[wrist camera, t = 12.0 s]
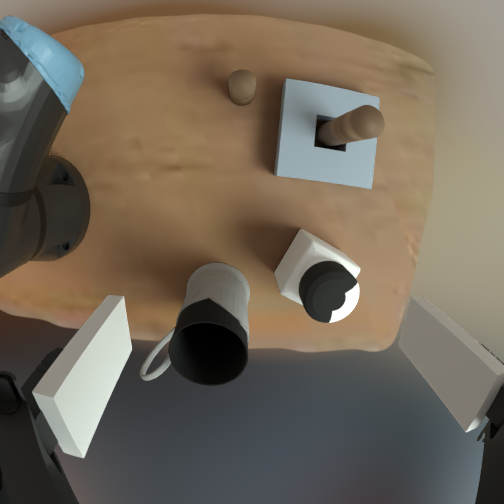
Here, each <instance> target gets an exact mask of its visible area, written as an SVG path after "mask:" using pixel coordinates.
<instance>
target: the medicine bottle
mask: <svg viewBox="0 0 504 504" xmlns="http://www.w3.org/2000/svg"><path fill="white" fill-rule="evenodd" d="M359 272H360V267H359V266H358V265H356V264H355V263H354V262H353V261H352V260H351V259H350V258H349V257H347V256H346V255H345V254H344V253H343V252H341V251H340V250H338V249H336V248H335V247H333V246H331V245H330V244H328V243H326V242H324V241H323V240H321V239H319V238H318V237H316V236H314V235H312V234H311V233H309V232H307V231H305V230H304V229H300V230H299V232H298V233H297V235H296V237H295V238H294V240H293V242H292V244H291V245H290V247H289V249H288V250H287V252H286V254H285V255H284V257H283V259H282V260H281V262H280V264H279V265H278V267H277V269H276V270H275V272H274V274H275V278H276V281H277V284H278V287H279V290H280V294H281V295H283V296H285V297H287V298H289V299H291V300H293V301H295V302H297V303H299V304H301V305H303V306H304V308H305V310H306V312H307V313H308V315H309V316H310V317H311V318H313V319H314V320H316V321H319V322H324V323H330V322H336V321H338V320H341V319H343V318H344V317H346V316H347V315H348V314H350V312H351V311H352V310H353V309H354V308H355V306H356V304H357V302H358V298H359V285H358V282H357V280H356V277H357V275H358V274H359Z"/></svg>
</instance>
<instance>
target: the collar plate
mask: <svg viewBox="0 0 504 504" xmlns="http://www.w3.org/2000/svg"><path fill="white" fill-rule="evenodd" d="M362 105H371V106H373V107H375V108H377V109H378V110H379V97H375V96H371V95H367V94H363V93H359V92H355V91H351V90H347V89H342V88H337V87H333V86H328V85H323V84H317V83H312V82H306V81H300V80H294V79H287V78H286V80H285V82H284V84H283V89H282V100H281V110H280V120H279V130H278V140H277V150H276V160H275V170H274V175H276V176H283V177H292V178H300V179H308V180H315V181H322V182H329V183H336V184H343V185H349V186H356V187H362V188H368V189H372V181H373V172H374V163H375V154H376V143H377V137H376V138H372V139H366V140H361V141H355V142H350V143H345V144H340V145H339V149H338V151H337V150H332V149H326V148H319V147H314V140H315V130H316V119H319V120H325V121H330V120H332V119H334V118H337V117H339V116H341V115H343V114H345V113H347V112H349V111H351V110H353V109H356V108H358V107H360V106H362Z"/></svg>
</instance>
